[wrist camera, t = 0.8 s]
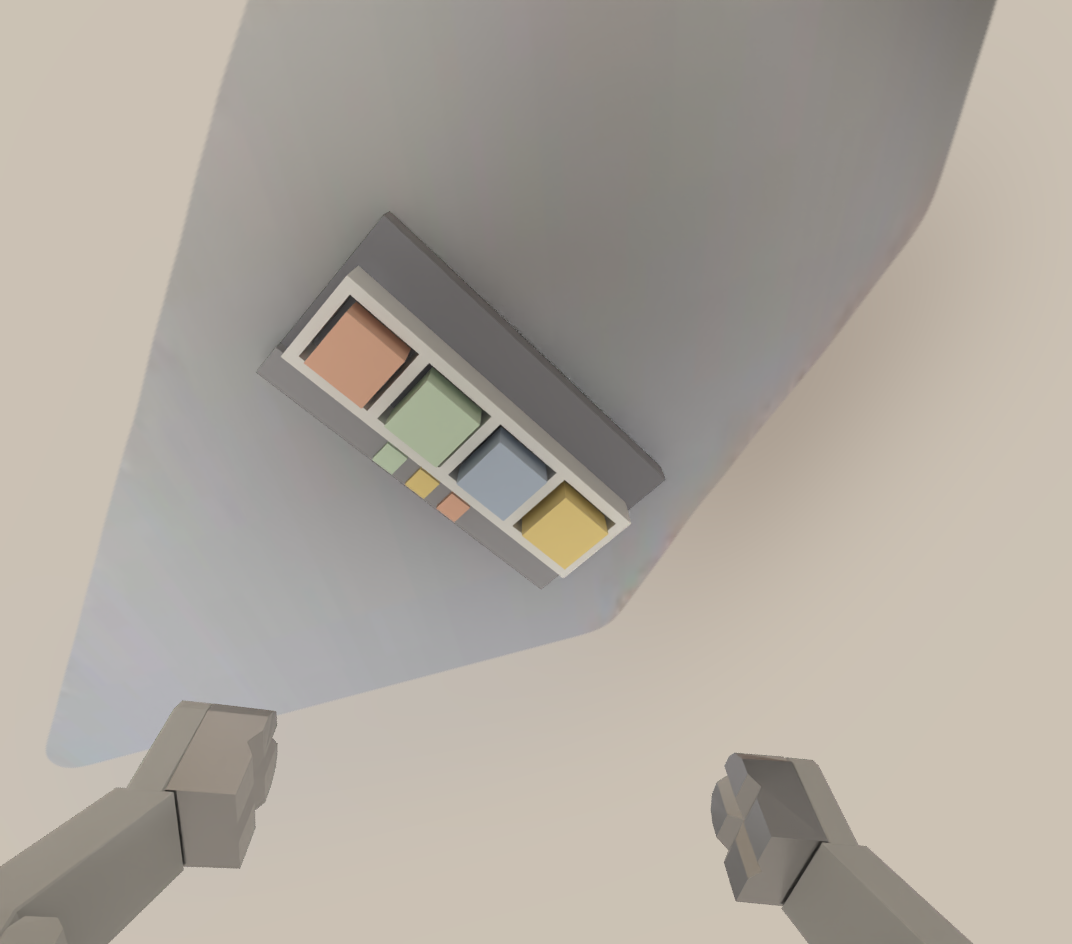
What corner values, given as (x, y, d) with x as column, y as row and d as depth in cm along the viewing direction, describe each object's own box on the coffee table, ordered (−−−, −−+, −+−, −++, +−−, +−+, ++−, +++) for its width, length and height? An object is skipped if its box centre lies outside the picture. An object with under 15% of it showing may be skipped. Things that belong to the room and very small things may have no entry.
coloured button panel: (389, 211, 41) (373, 221, 36) (660, 467, 50) (673, 499, 46) (268, 361, 45) (240, 386, 41) (536, 569, 55) (538, 608, 50)
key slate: (501, 426, 44) (500, 442, 42) (546, 465, 45) (547, 482, 43) (459, 466, 45) (456, 483, 43) (504, 502, 47) (503, 521, 45)
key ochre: (563, 480, 46) (565, 497, 44) (604, 515, 48) (608, 534, 45) (521, 516, 48) (521, 535, 45) (562, 549, 49) (564, 569, 47)
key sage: (432, 367, 42) (427, 380, 40) (481, 409, 43) (479, 424, 41) (390, 411, 43) (384, 426, 41) (440, 451, 45) (436, 467, 43)
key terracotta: (356, 301, 40) (346, 311, 37) (411, 348, 41) (404, 361, 39) (315, 350, 41) (303, 362, 39) (369, 394, 43) (361, 408, 40)
